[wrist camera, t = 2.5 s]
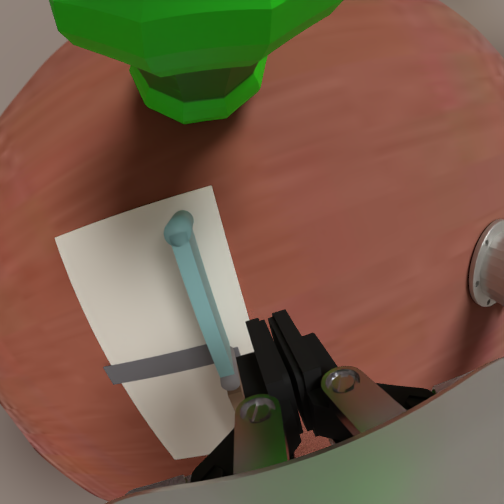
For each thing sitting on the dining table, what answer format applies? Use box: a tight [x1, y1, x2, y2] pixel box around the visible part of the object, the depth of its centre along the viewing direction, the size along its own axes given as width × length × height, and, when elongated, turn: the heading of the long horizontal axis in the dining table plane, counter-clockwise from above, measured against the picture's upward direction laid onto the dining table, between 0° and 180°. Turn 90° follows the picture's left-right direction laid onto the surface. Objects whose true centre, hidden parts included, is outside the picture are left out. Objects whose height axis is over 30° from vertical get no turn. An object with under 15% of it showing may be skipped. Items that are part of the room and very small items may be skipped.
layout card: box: [55, 185, 254, 460], centre depth 28 cm, size 31×16×1 cm, turn 14°
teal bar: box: [164, 210, 240, 391], centre depth 23 cm, size 15×2×5 cm, turn 14°
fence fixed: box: [227, 362, 245, 411], centre depth 28 cm, size 14×2×6 cm, turn 14°
